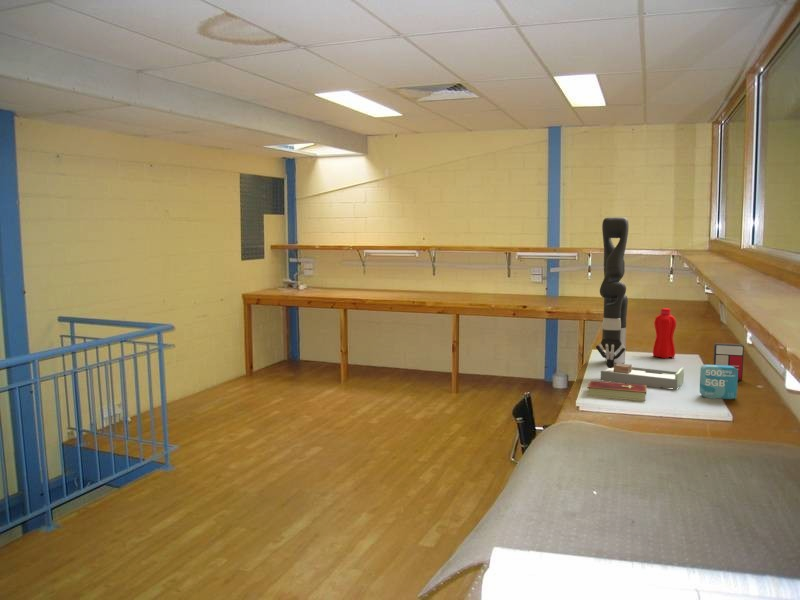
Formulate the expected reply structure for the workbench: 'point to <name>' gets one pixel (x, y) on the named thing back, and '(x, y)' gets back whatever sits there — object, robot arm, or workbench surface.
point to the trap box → (646, 377)
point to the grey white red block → (729, 356)
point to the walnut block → (622, 368)
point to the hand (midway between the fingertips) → (610, 367)
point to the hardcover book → (617, 390)
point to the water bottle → (664, 334)
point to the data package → (718, 381)
